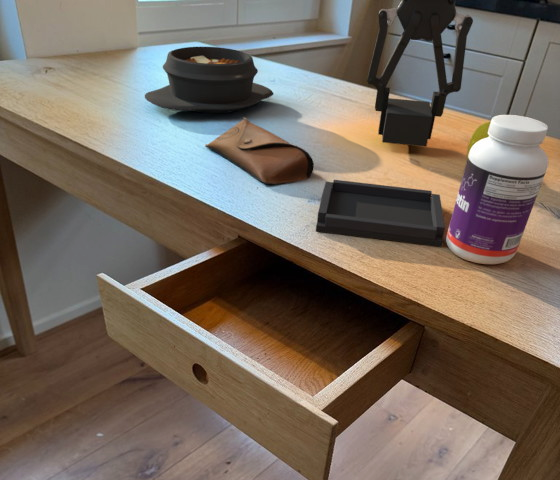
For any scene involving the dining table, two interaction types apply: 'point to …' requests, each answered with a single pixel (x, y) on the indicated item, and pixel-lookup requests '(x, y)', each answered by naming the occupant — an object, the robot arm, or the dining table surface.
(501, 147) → the pill bottle
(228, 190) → the dining table surface
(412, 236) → the base pad
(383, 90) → the robot arm
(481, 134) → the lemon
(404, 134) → the black block
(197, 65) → the casserole
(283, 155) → the sunglasses case
